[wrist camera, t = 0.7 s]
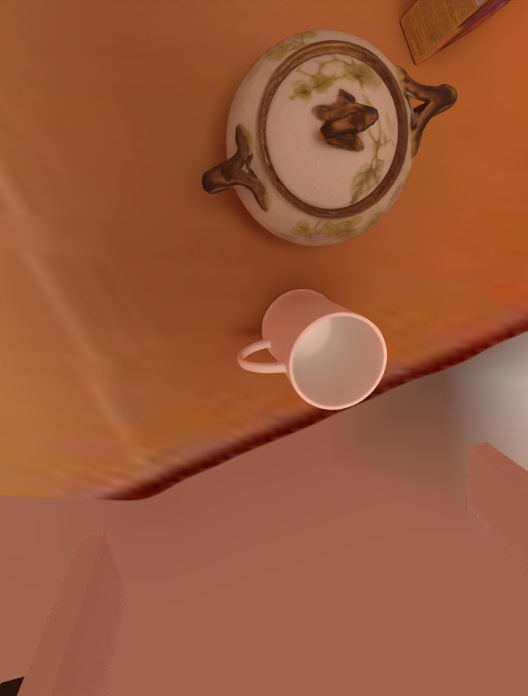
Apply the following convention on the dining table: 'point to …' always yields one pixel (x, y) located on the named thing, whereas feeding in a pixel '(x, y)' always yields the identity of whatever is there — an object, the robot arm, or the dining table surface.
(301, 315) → the mug
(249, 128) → the sugar bowl
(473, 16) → the candy box
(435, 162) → the dining table surface
